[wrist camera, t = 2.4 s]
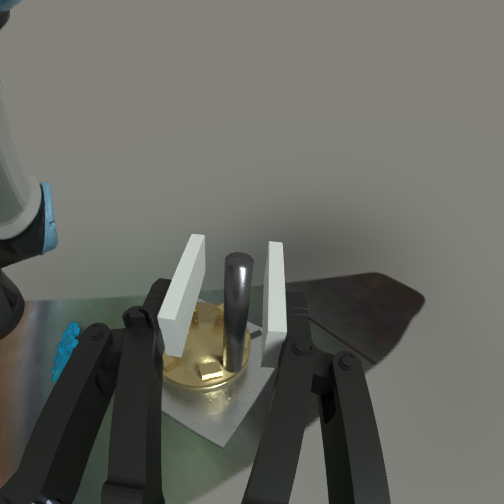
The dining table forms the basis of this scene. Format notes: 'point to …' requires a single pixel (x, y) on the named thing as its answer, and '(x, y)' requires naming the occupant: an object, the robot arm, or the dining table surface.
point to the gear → (65, 349)
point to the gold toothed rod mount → (216, 336)
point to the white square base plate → (220, 399)
